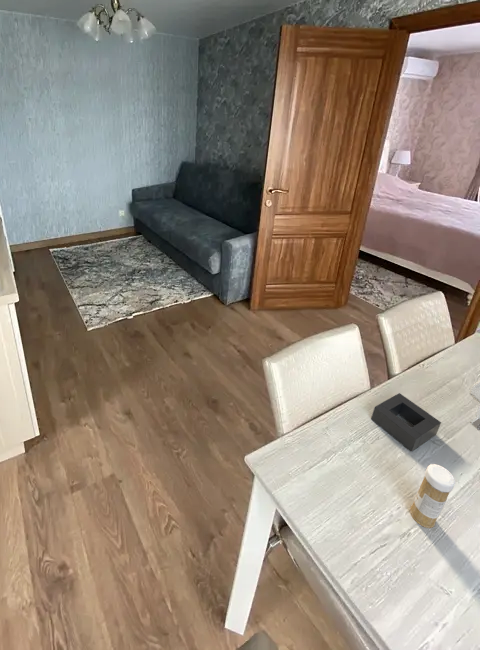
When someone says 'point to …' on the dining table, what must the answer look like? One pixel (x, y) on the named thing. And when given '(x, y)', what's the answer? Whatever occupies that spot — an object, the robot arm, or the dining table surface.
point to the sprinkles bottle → (432, 495)
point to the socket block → (399, 429)
